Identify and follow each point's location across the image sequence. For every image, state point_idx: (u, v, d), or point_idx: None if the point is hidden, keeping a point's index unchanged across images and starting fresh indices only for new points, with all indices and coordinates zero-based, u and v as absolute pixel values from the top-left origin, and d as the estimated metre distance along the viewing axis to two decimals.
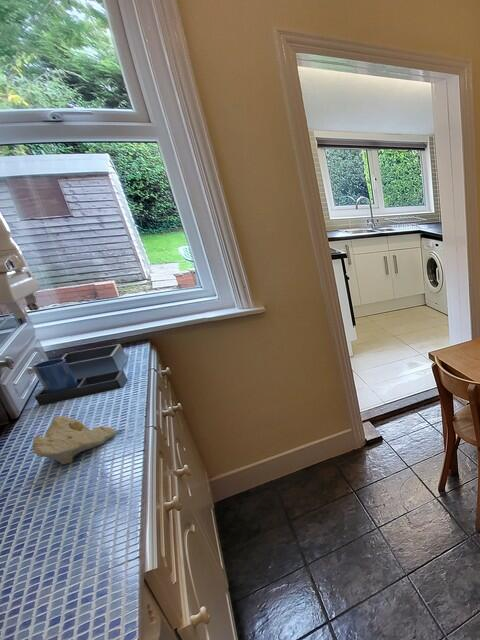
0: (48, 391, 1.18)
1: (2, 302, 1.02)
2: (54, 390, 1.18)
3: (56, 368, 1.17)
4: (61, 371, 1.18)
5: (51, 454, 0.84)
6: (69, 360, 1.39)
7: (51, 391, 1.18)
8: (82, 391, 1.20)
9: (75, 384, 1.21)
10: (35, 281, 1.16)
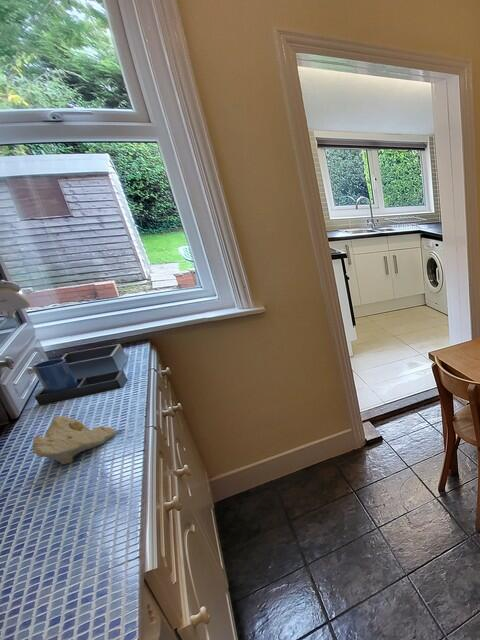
0: (48, 391, 1.18)
1: None
2: (54, 390, 1.18)
3: (56, 368, 1.17)
4: (61, 371, 1.18)
5: (51, 454, 0.84)
6: (69, 360, 1.39)
7: (51, 391, 1.18)
8: (82, 391, 1.20)
9: (75, 384, 1.21)
10: (17, 303, 0.98)
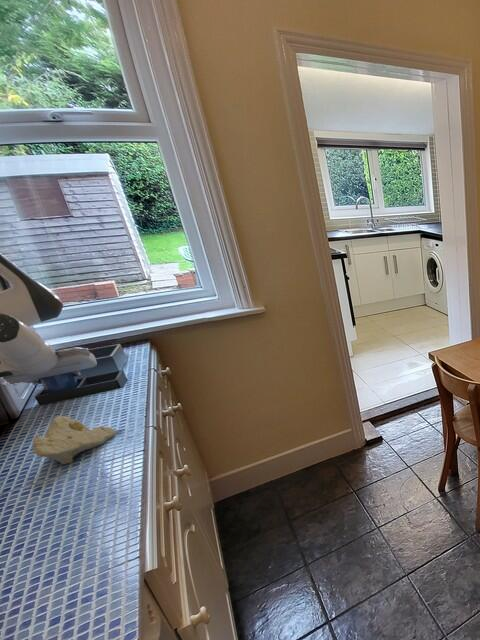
0: (48, 391, 1.18)
1: None
2: (54, 390, 1.18)
3: None
4: None
5: (51, 454, 0.84)
6: None
7: (51, 391, 1.18)
8: (82, 391, 1.20)
9: (75, 384, 1.21)
10: (87, 364, 1.18)
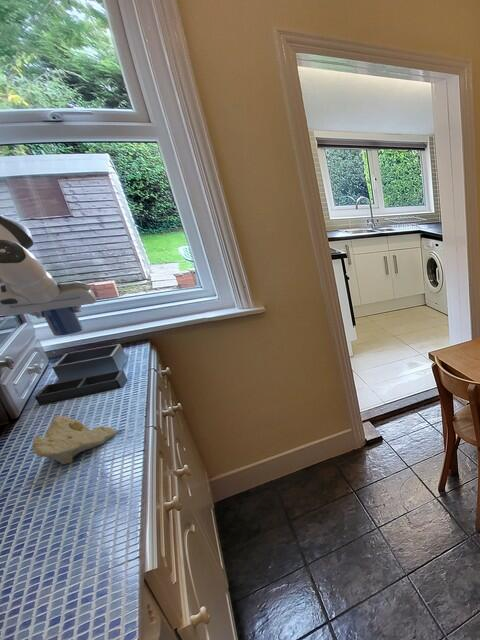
0: (51, 325, 1.25)
1: None
2: (57, 324, 1.25)
3: None
4: None
5: (51, 454, 0.84)
6: (69, 360, 1.39)
7: (53, 324, 1.25)
8: (82, 391, 1.20)
9: (76, 320, 1.29)
10: (87, 300, 1.26)
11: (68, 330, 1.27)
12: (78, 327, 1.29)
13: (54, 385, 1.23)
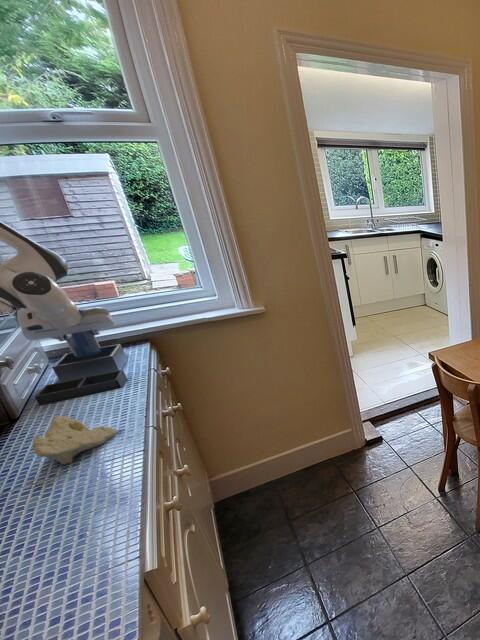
0: (72, 347, 1.33)
1: None
2: (77, 346, 1.33)
3: None
4: None
5: (51, 454, 0.84)
6: (69, 360, 1.39)
7: (74, 347, 1.33)
8: (82, 391, 1.20)
9: (95, 342, 1.36)
10: (106, 323, 1.33)
11: (88, 352, 1.35)
12: (97, 349, 1.37)
13: (54, 385, 1.23)
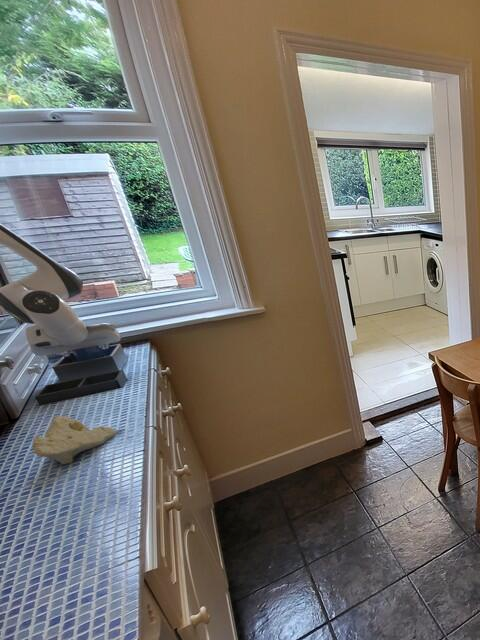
0: None
1: None
2: None
3: None
4: (92, 346, 1.35)
5: (51, 454, 0.84)
6: (69, 360, 1.39)
7: None
8: (82, 391, 1.20)
9: None
10: (112, 339, 1.35)
11: None
12: None
13: (54, 385, 1.23)
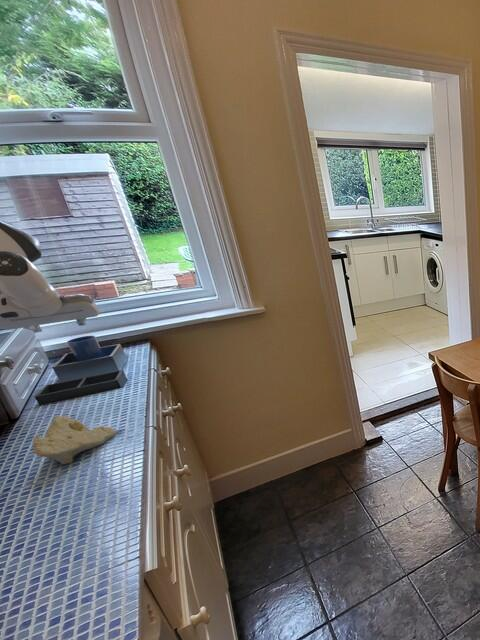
0: None
1: None
2: None
3: (88, 343, 1.34)
4: (92, 346, 1.35)
5: (51, 454, 0.84)
6: (69, 360, 1.39)
7: None
8: (82, 391, 1.20)
9: None
10: (90, 313, 1.22)
11: None
12: None
13: (54, 385, 1.23)
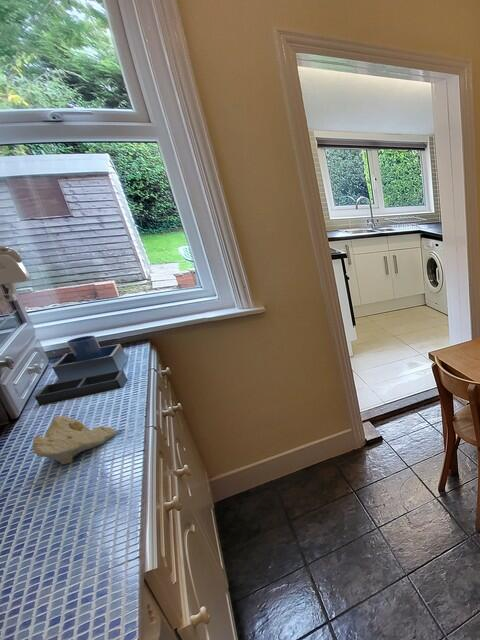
0: None
1: None
2: None
3: (88, 343, 1.34)
4: (92, 346, 1.35)
5: (51, 454, 0.84)
6: (69, 360, 1.39)
7: None
8: (82, 391, 1.20)
9: None
10: (14, 273, 1.09)
11: None
12: None
13: (54, 385, 1.23)
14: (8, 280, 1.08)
